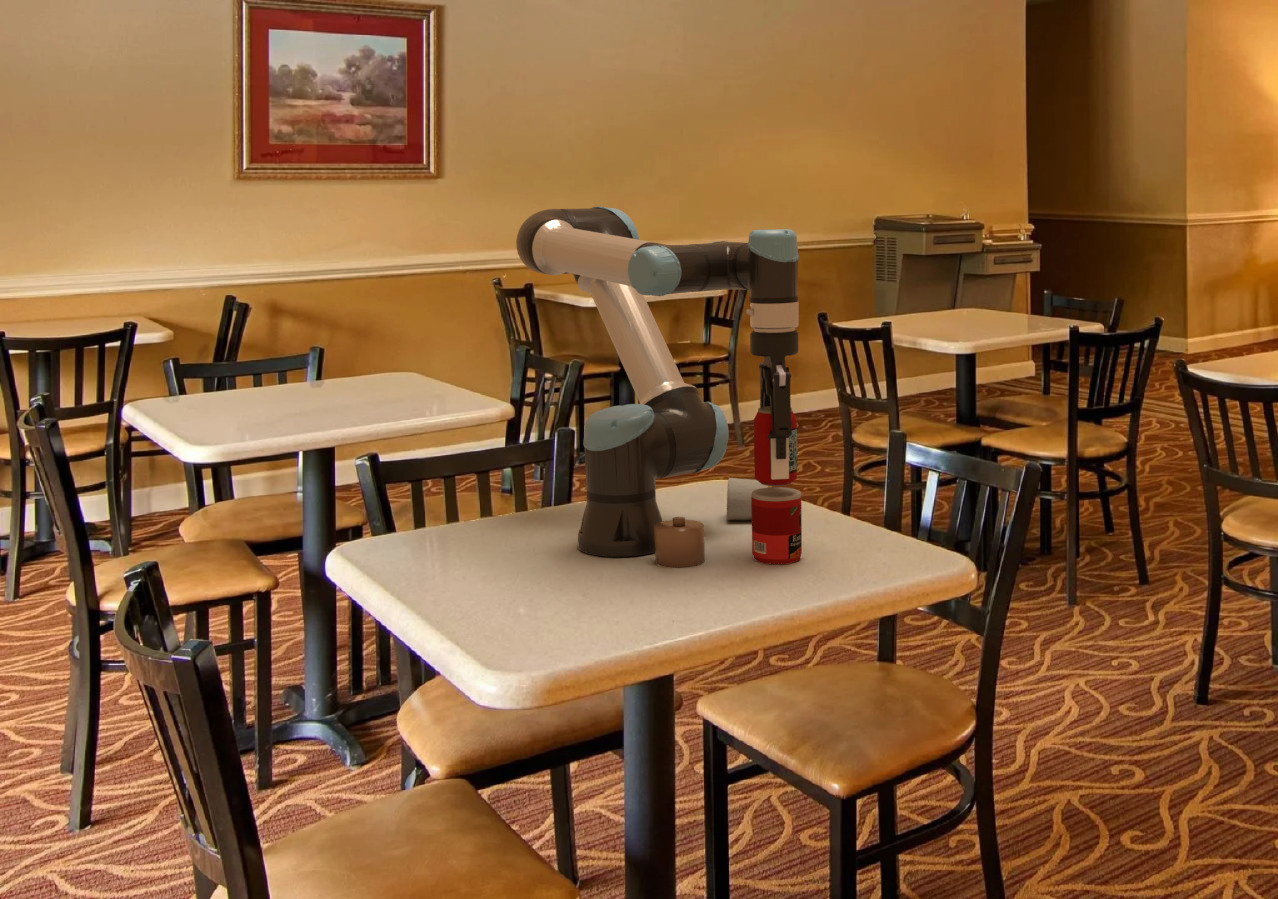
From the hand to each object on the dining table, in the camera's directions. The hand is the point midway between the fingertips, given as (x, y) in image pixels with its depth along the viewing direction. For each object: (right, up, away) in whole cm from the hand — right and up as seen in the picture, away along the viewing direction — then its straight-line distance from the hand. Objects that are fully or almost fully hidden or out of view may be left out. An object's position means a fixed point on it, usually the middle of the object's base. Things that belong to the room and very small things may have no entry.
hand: (775, 473), depth 209 cm
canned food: (0, -14, +3) cm, 14 cm away
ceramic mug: (-2, -9, +31) cm, 32 cm away
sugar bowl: (-15, -14, +3) cm, 21 cm away
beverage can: (0, -2, 0) cm, 2 cm away
